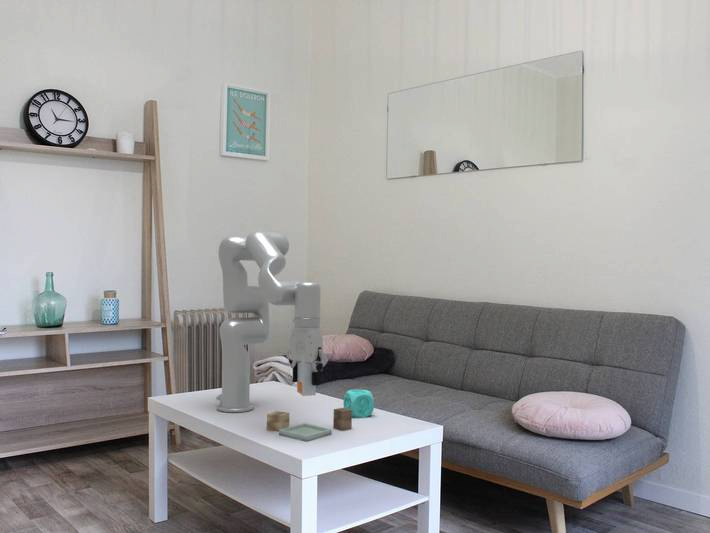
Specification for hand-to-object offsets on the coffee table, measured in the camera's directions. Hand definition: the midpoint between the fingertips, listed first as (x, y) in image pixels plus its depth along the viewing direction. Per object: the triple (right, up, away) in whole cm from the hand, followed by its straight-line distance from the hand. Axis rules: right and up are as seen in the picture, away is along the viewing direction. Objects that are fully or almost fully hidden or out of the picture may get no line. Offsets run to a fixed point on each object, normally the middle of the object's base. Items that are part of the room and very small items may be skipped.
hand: (306, 382), depth 200 cm
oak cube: (-9, -15, +6) cm, 19 cm away
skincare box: (0, -4, 0) cm, 4 cm away
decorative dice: (+16, -16, +27) cm, 35 cm away
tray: (0, -15, 0) cm, 15 cm away
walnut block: (+11, -16, +8) cm, 20 cm away
